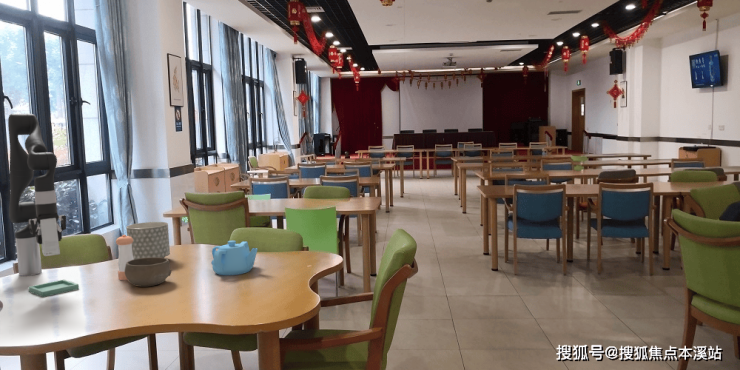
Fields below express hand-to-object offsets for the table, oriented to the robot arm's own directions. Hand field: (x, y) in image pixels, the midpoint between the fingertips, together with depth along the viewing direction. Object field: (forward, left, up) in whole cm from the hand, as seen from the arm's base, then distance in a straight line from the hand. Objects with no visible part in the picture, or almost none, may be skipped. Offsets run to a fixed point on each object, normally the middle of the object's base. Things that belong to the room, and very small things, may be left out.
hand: (49, 242), depth 248 cm
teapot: (+38, +62, -20) cm, 76 cm away
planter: (-15, +51, -20) cm, 57 cm away
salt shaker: (+7, +28, -20) cm, 35 cm away
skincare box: (0, 0, -5) cm, 5 cm away
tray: (0, 0, -20) cm, 20 cm away
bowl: (+25, +28, -20) cm, 43 cm away
